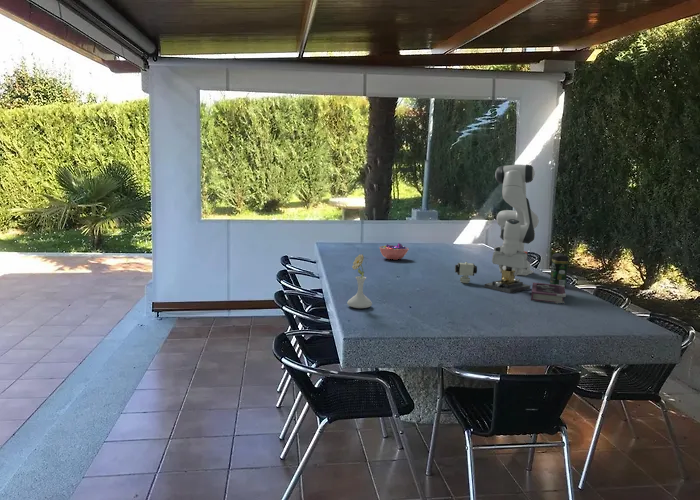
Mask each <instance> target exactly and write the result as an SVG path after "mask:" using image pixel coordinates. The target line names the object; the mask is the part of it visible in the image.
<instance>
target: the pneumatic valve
mask: <svg viewBox="0 0 700 500" xmlns="http://www.w3.org/2000/svg"><path fill="white" fill-rule="evenodd" d="M477 272H478V265H476V264H475V263H473V262H472V263H471V262H468V261H465V262H457V264H455V265H454V273H456V274H457V275H458V276H461V277H460V278H459V281H460V283H462V284H469V283H470V282H471V278H470V277H469V276H471V277H472V276H473V277H474V276H475V274H477Z"/></svg>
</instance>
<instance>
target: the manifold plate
mask: <svg viewBox="0 0 700 500" xmlns="http://www.w3.org/2000/svg"><path fill="white" fill-rule="evenodd" d="M483 285H484V287H483V288H485V289H490V290H493V291H498V292H501V293H502V292H503V293H507V294H512V293H517V292H522V291H526V290H527V289H528V290H531V286H532V284H531V285H530V284H525V283H524V282H523V281H521V280H520V278H517V277H516V278H515V280H514V283H513V284H503V283H502V282H501V279H500V280H495V281H492V282H488V283H484V284H483Z"/></svg>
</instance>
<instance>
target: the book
mask: <svg viewBox="0 0 700 500" xmlns="http://www.w3.org/2000/svg"><path fill="white" fill-rule="evenodd" d="M531 286H532V287H531V294H530V301H532V300H535V301H534V302H540V301H545V302H544V303H549V302H554V303H553V304H558V303H564V304H565V300H564V298H566V296H567V294H566V286H564V285H554V284H550V283H541V282H532V284H531Z"/></svg>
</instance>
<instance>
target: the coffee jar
mask: <svg viewBox="0 0 700 500" xmlns="http://www.w3.org/2000/svg"><path fill="white" fill-rule="evenodd" d="M568 264H569V256H567V255H566V254H563V252H560V253H559V252H555V253H553V254H552V257H551V269H550V270H551V271H550V276H549V278H550V279H549V284H554V285H564V286H565V287H566V286H567V274H568Z"/></svg>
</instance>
